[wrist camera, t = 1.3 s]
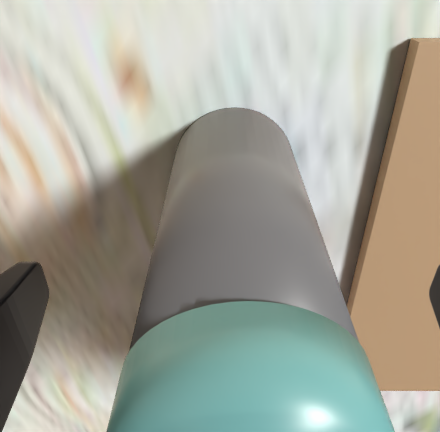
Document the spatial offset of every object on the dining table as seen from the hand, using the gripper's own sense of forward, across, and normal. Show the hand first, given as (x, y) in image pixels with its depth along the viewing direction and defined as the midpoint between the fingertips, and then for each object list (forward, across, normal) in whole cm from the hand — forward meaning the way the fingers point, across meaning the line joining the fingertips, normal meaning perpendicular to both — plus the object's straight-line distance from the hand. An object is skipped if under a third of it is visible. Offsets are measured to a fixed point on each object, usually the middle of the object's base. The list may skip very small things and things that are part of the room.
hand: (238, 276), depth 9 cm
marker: (+6, 0, 0) cm, 6 cm away
